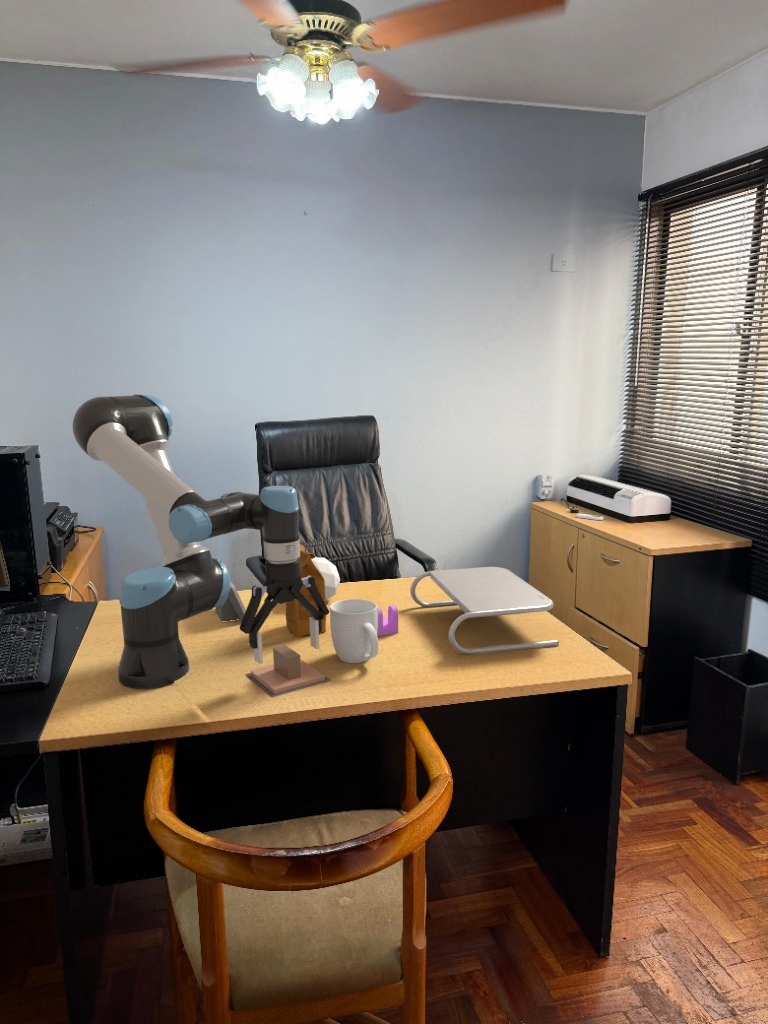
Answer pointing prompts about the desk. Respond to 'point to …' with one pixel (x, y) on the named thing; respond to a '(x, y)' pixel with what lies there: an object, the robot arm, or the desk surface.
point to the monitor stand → (486, 599)
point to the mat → (284, 691)
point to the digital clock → (231, 606)
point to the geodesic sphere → (328, 576)
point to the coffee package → (294, 610)
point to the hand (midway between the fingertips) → (287, 654)
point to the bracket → (387, 621)
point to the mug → (354, 629)
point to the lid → (286, 671)
